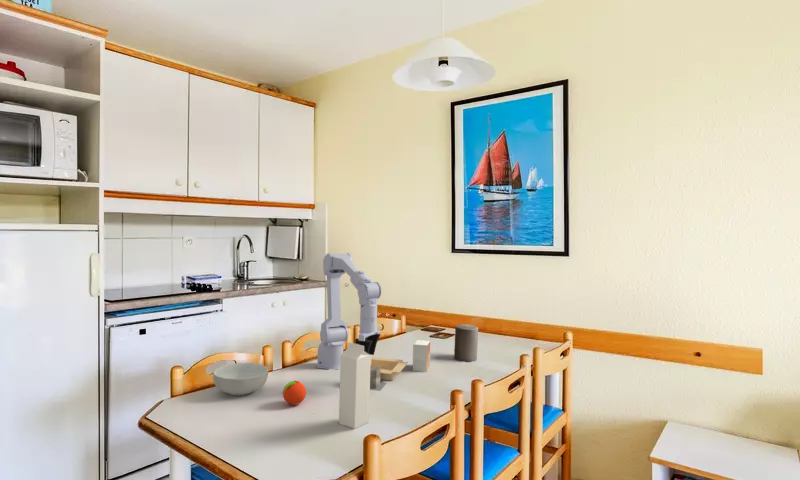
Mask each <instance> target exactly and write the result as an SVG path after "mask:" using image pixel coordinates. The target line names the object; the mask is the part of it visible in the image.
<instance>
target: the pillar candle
mask: <svg viewBox="0 0 800 480" xmlns="http://www.w3.org/2000/svg"><path fill="white" fill-rule="evenodd" d="M454 327H455V329H454V349H453V350H454V352H453V353H454V354H453V359H454V360H456V361H458V362H463V363H464V362H465V363H473V362H476V361H477V359H478V344H479V343H478V342H479V341H478V339H479V338H478V337H479V327H478V326H476V325H473V324H468V323H466V324H462V323H461V324H456V325H455V326H454ZM472 361H473V362H472Z"/></svg>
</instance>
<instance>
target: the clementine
mask: <svg viewBox="0 0 800 480" xmlns="http://www.w3.org/2000/svg"><path fill="white" fill-rule="evenodd" d="M306 396H307V389H306V387H305V385H304V383H303V382H301V381H298V380H292V381H289V382H288V383H287V384H285V386H284V388H283V390H282V397H283V399H284V401H285V402H286V403H287V404H288V405H291V406H292V405H293V406H296V405H299V404H300V403H302V402H303V401H304V400H305V399H306Z"/></svg>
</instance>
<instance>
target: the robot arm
mask: <svg viewBox="0 0 800 480" xmlns="http://www.w3.org/2000/svg"><path fill="white" fill-rule="evenodd" d="M322 261H323V262H322V267H323V269H322V270H323V275H324V276H326V296H327V297H326V299H327V300H326V301H327V318H326V319H325V321H323V322H322V323H321V326H320V332H319V338H320V341H321V342H320V343H319V344H318V347H317V357H316V358H317V360H316V361H317V362H316V363H317V366H316V368H317V369H325V370H336V371H337V370H338V371H340V360H341V355H342V354H343V352H344V345H346V342H347V341H348V339H349V336H350V335H349V329H348V323H347V321H345V320H344V319H342V313H341V311H342V310H341V309H342V308H341V277H342V276H343V275H345V274H347V275H348V277H349V280H350V283H351V285H352V286H354V288H355V289H356V290H357V297H358V303H359V305H360V308H359V309H360V316H359V318H360V319H359V331H358V337H357V338H356V339H355V340H354V344H358V345H363V346H364V352H366V353H368V354H369V355H371V356H374V355H375V352H376V348H377V347H376V346H377V345H378V344H377V343H378V341H379V339H380V336H381V331H380V330H378V299H380V298H381V295H382V288H381V285H380V284H379V282H378V281H372V280H371V278H369V276H367V274H366V273H365V271H363V270H359V269H358V268H357V267H356V265H355V264H354V257H353V256H352V254H351V253H349V252H347V253H326V254H325V255H324V258H323V260H322Z"/></svg>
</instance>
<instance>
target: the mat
mask: <svg viewBox="0 0 800 480" xmlns="http://www.w3.org/2000/svg"><path fill="white" fill-rule="evenodd" d="M386 385H387V382H381V381H380V385H379V386H378V387H377V388H370V391H378V392H379V391H381V390H382V389H383V388H384V387H385V386H386Z"/></svg>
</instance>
